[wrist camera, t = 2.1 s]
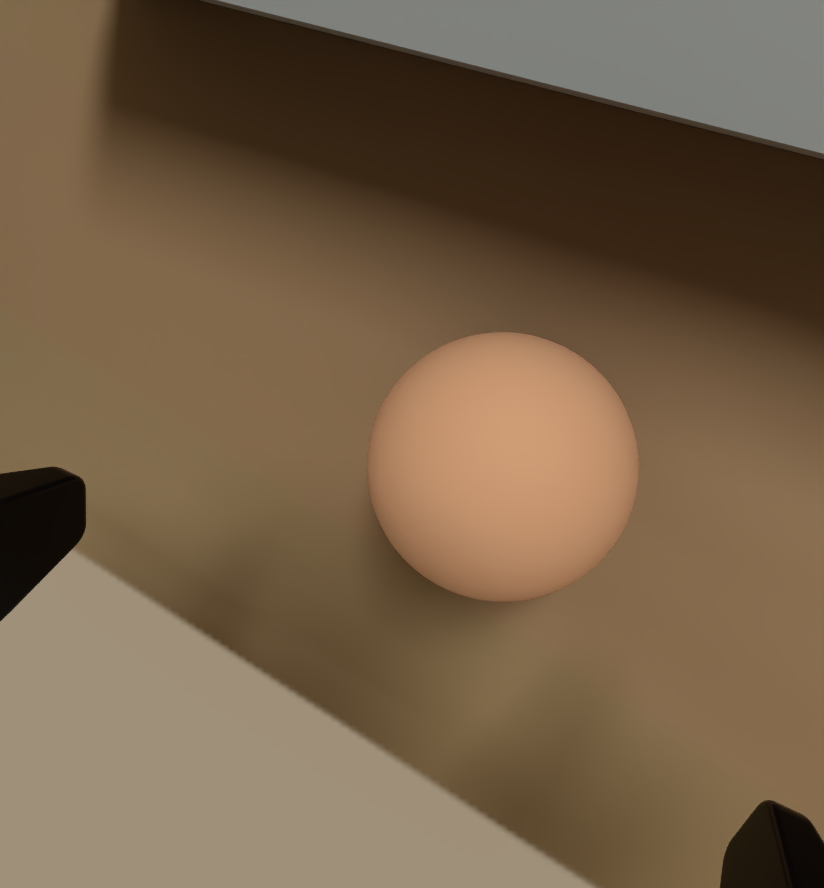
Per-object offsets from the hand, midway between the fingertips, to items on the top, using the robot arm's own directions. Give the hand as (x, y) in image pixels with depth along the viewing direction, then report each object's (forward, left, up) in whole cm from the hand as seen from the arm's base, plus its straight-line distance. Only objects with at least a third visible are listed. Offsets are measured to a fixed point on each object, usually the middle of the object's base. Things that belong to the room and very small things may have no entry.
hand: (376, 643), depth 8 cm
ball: (0, 0, -5) cm, 5 cm away
